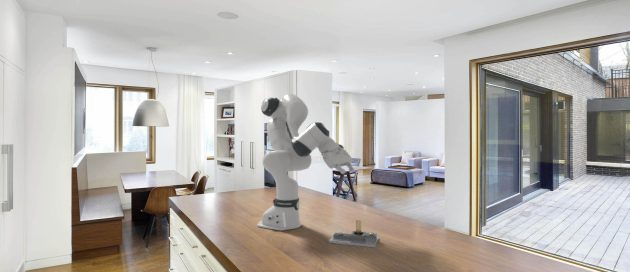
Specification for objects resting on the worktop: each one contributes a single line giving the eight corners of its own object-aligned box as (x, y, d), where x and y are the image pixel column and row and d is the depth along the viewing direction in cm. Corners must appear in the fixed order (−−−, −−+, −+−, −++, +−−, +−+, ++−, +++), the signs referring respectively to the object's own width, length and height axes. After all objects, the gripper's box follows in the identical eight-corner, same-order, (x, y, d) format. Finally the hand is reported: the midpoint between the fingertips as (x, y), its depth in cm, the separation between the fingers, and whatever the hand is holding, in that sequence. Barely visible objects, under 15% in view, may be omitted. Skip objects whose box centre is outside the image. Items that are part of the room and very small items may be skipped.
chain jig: (328, 242, 147) (328, 233, 147) (335, 234, 159) (335, 226, 159) (375, 247, 142) (375, 238, 142) (378, 238, 153) (378, 229, 153)
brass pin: (355, 239, 149) (355, 221, 149) (356, 237, 151) (356, 219, 151) (360, 239, 148) (360, 221, 148) (361, 238, 150) (361, 220, 150)
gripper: (323, 147, 155) (342, 169, 150) (344, 145, 172) (361, 165, 167) (315, 156, 157) (334, 179, 152) (336, 153, 174) (353, 173, 169)
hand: (348, 171), depth 160 cm, fingers open, 8 cm apart
